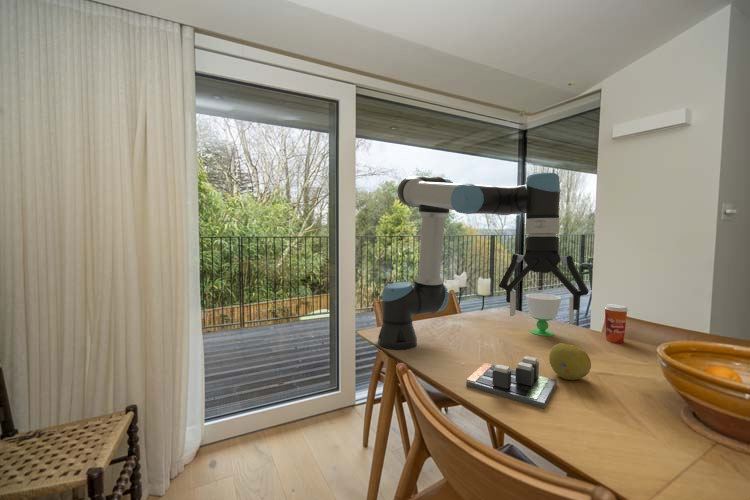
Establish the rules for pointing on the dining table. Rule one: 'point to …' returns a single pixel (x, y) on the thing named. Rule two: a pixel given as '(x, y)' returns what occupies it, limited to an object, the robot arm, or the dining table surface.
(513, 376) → the panel
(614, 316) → the paper cup
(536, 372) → the breaker far row
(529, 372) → the breaker mid row
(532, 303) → the cup
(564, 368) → the fruit
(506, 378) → the block
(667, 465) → the dining table surface
